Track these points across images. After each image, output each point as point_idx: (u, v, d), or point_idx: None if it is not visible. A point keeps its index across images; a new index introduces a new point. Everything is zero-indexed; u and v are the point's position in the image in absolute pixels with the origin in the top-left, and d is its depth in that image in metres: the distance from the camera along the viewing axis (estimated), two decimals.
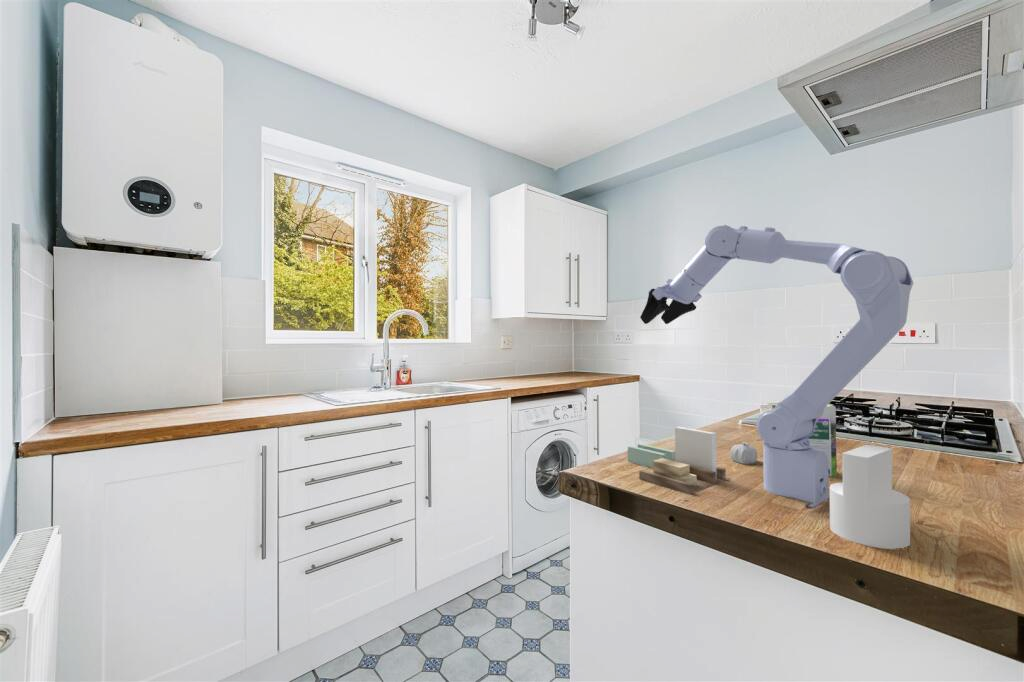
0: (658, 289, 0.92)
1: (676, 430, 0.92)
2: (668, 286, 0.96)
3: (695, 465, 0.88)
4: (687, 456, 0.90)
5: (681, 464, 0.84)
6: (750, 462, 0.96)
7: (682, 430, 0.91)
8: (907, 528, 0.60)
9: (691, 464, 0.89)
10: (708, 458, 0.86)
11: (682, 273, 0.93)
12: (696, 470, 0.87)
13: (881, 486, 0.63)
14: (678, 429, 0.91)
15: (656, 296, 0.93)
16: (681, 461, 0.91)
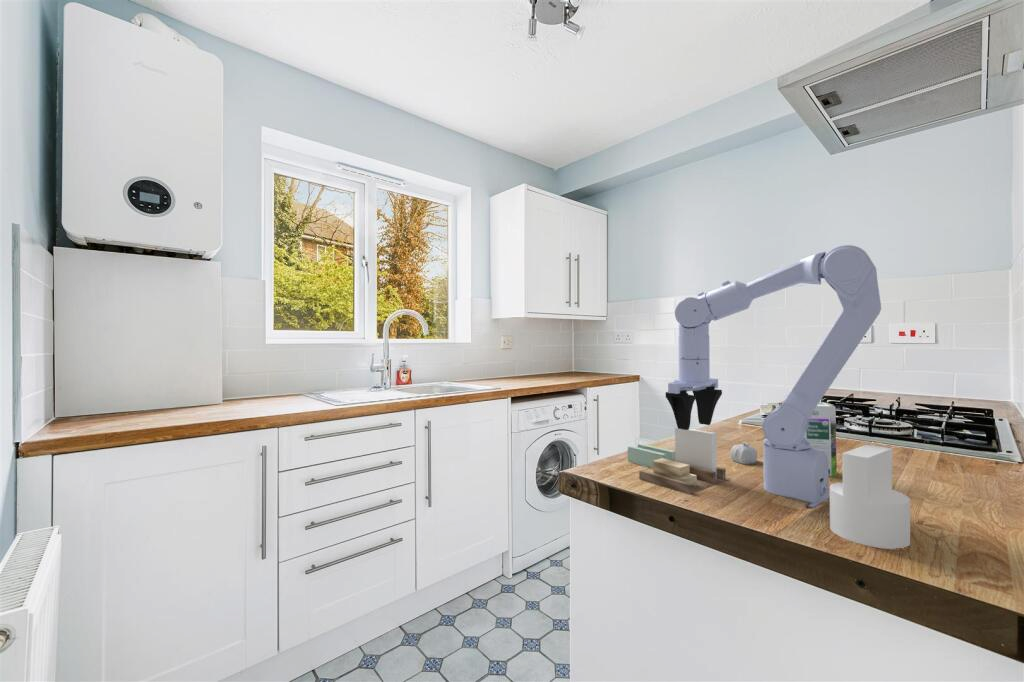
0: (670, 384, 0.85)
1: (676, 430, 0.92)
2: (679, 382, 0.89)
3: (695, 465, 0.88)
4: (687, 456, 0.90)
5: (681, 464, 0.84)
6: (750, 462, 0.96)
7: (682, 430, 0.91)
8: (907, 528, 0.60)
9: (691, 464, 0.89)
10: (708, 458, 0.86)
11: (681, 361, 0.89)
12: (696, 470, 0.87)
13: (881, 486, 0.63)
14: (678, 429, 0.91)
15: (674, 391, 0.85)
16: (681, 461, 0.91)
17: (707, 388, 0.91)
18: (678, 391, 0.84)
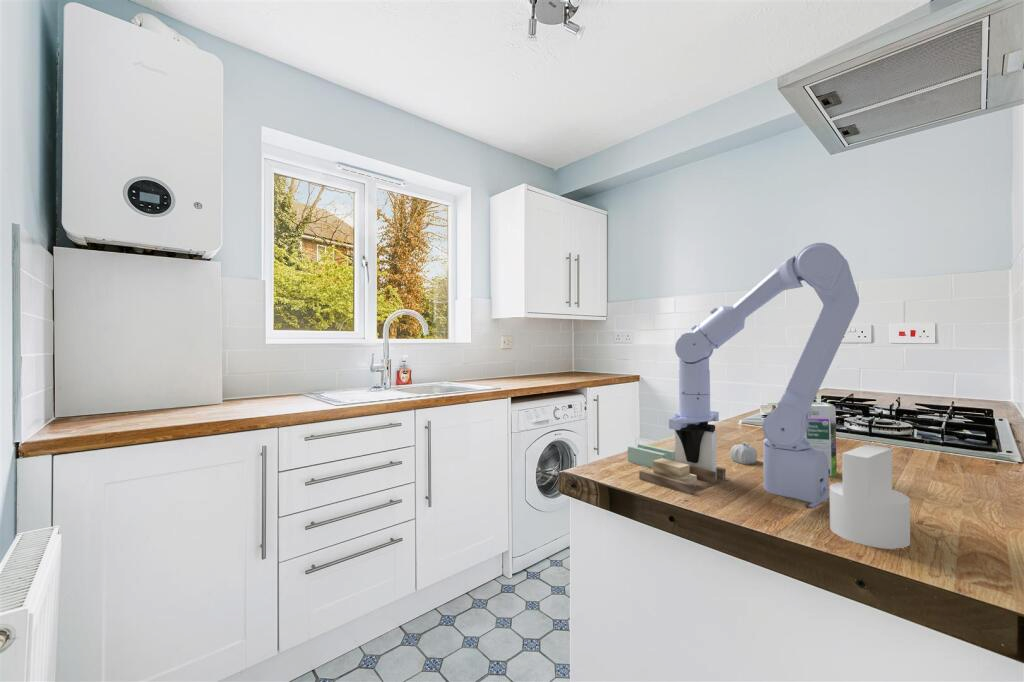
0: (671, 420, 0.85)
1: None
2: (679, 416, 0.89)
3: (695, 465, 0.88)
4: None
5: (681, 464, 0.84)
6: (750, 462, 0.96)
7: None
8: (907, 528, 0.60)
9: (691, 464, 0.89)
10: (708, 458, 0.86)
11: (681, 396, 0.89)
12: (696, 470, 0.87)
13: (881, 486, 0.63)
14: None
15: (674, 427, 0.85)
16: (681, 461, 0.91)
17: None
18: (679, 427, 0.84)
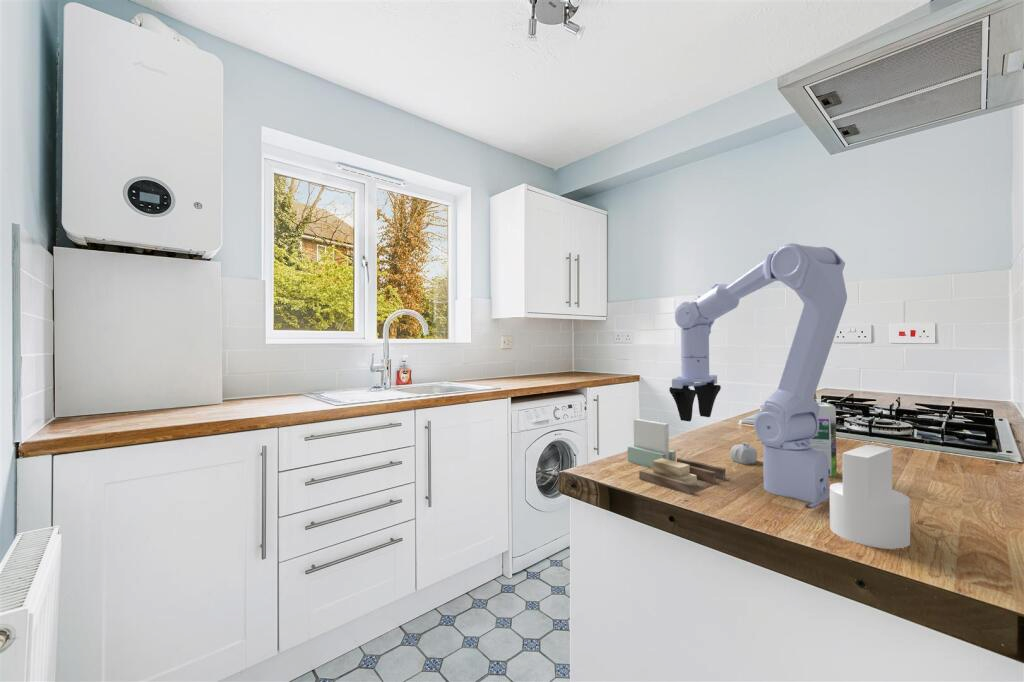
0: (674, 380, 0.94)
1: (635, 421, 1.00)
2: (681, 378, 0.98)
3: None
4: (644, 445, 0.98)
5: (681, 464, 0.84)
6: (750, 462, 0.96)
7: (639, 422, 0.99)
8: (907, 528, 0.60)
9: None
10: (661, 447, 0.95)
11: (683, 359, 0.98)
12: (696, 470, 0.87)
13: (881, 486, 0.63)
14: (636, 421, 1.00)
15: (677, 386, 0.94)
16: None
17: (707, 384, 1.00)
18: (681, 386, 0.93)
